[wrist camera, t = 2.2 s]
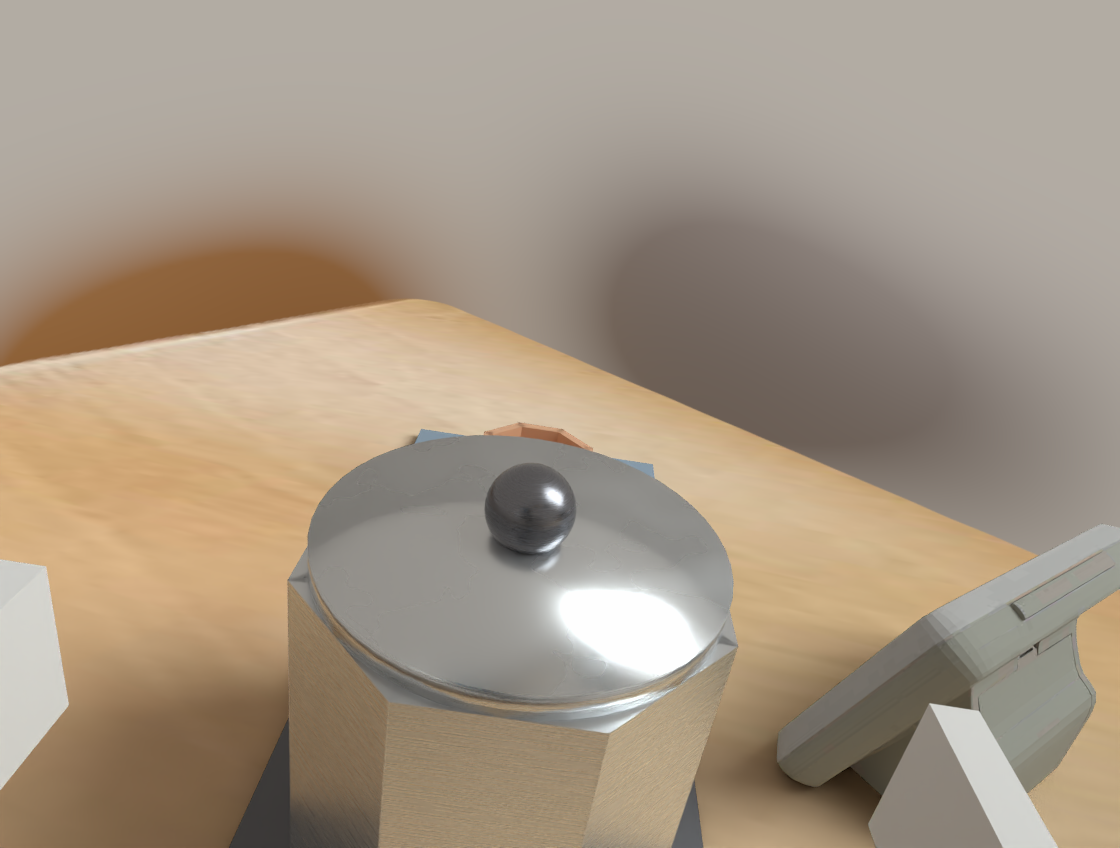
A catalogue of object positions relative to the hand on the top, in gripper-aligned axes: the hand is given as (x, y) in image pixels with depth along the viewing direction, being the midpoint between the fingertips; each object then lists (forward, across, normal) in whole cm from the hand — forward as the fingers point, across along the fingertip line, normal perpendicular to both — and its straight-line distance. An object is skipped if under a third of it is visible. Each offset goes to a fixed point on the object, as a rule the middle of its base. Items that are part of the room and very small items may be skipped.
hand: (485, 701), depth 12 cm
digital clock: (+17, +20, -16) cm, 31 cm away
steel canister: (+10, 0, -16) cm, 19 cm away
